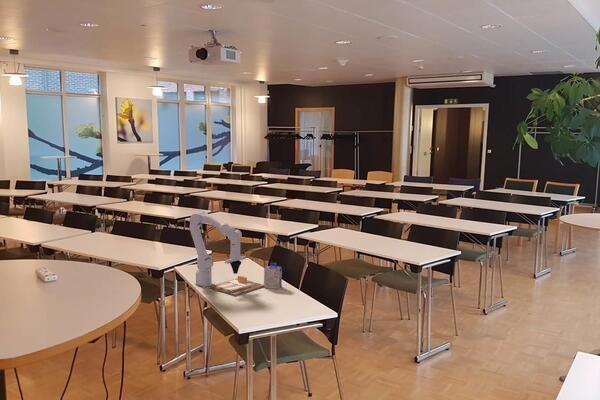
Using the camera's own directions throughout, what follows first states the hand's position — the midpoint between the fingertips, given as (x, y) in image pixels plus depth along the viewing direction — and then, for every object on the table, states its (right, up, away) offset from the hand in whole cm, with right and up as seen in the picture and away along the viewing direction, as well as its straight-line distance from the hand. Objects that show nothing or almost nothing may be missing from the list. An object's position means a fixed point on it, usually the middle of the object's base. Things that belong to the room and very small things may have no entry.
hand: (235, 273), depth 292 cm
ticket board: (+1, -9, +2) cm, 9 cm away
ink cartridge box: (+22, -9, +5) cm, 24 cm away
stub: (+2, -7, +4) cm, 9 cm away
